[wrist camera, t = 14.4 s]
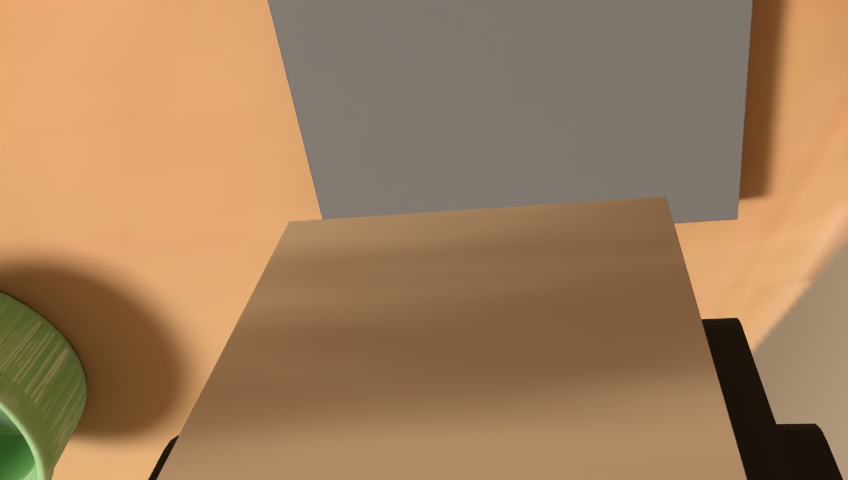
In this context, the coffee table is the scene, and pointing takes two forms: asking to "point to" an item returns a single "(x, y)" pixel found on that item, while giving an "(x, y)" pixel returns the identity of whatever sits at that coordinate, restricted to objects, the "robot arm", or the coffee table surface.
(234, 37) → the coffee table surface
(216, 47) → the coffee table surface
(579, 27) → the charcoal mat
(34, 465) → the ramekin
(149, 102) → the coffee table surface
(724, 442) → the beige block
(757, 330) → the coffee table surface
